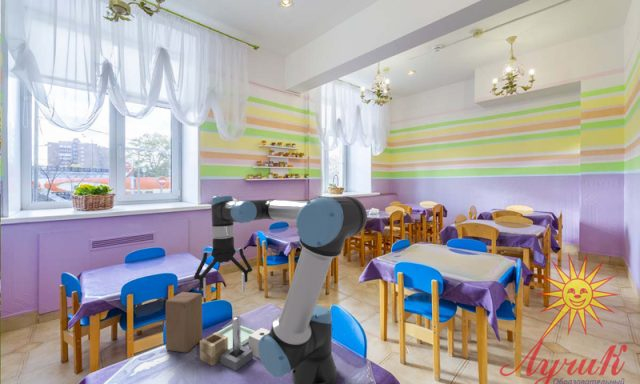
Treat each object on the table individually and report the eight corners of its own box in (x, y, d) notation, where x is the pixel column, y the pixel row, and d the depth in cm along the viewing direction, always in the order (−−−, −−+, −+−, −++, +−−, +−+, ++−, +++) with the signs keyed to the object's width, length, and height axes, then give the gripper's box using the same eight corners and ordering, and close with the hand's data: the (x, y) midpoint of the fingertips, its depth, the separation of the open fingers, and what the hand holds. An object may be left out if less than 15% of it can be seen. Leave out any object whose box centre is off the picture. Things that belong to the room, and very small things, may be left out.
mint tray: (257, 335, 116) (257, 331, 116) (229, 353, 103) (229, 349, 103) (233, 326, 124) (233, 322, 124) (205, 342, 111) (205, 338, 111)
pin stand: (252, 358, 100) (252, 350, 100) (235, 370, 94) (235, 362, 94) (237, 351, 105) (237, 344, 105) (220, 363, 98) (220, 355, 98)
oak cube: (227, 355, 102) (227, 337, 102) (212, 365, 96) (211, 346, 96) (215, 349, 106) (215, 332, 106) (199, 359, 100) (199, 340, 100)
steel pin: (242, 359, 100) (242, 317, 99) (236, 364, 97) (236, 320, 97) (237, 357, 101) (236, 315, 101) (231, 361, 99) (230, 318, 98)
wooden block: (187, 354, 103) (186, 302, 103) (164, 350, 105) (164, 300, 105) (203, 339, 113) (203, 292, 113) (182, 337, 115) (182, 290, 115)
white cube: (274, 349, 106) (274, 332, 106) (262, 359, 100) (262, 340, 100) (261, 344, 110) (261, 327, 109) (248, 353, 104) (248, 335, 103)
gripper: (255, 232, 108) (256, 285, 108) (186, 238, 98) (188, 296, 98) (258, 235, 101) (260, 291, 101) (185, 241, 91) (186, 303, 91)
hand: (224, 293), depth 100 cm, fingers open, 13 cm apart
